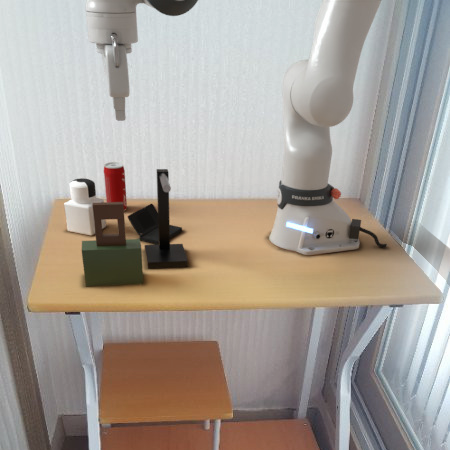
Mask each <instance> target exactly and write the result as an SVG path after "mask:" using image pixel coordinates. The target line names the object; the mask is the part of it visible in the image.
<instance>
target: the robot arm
mask: <svg viewBox="0 0 450 450" xmlns="http://www.w3.org/2000/svg"><path fill="white" fill-rule="evenodd" d="M198 1H199V0H86V2H85V16H86V17H85V18H86V26H87V35H88V42H89V43H91V44H95V46H96V52H97V53H98V54H100V55H101V60H102V65H103V70H104V75H105V80H106V85H107V90H108V95H109V96H110V98H112V105H113V109H114V115H115V120H116V121H118V122H119V121H120V122H123V121H125V120H126V98H128V97H129V96H130V92H131V91H130V90H131V89H130V75H129V64H128V63H129V62H128V55H129V54H131V53H132V52H133V51H132V50H133V49H132V44H136V43H138V42H139V36H138V20H137V19H138V18H137V17H138V16H137V5H139V4H144V5H145V6H148V7H150V8H152V9H155V10H156V11H157V12H159V13H160V14H162V15H165V16H167V17H178V16H182V15H185V14H186V13H188V12H189V11H190V10H192V9H193V8H194V7H195V5H196V4H197V3H198ZM381 3H382V0H322V1H321V4H320V6H319V10H318V12H317V15H316V17H315V21H314V23H313V38H312V43H311V48H310V53H309V57H308V59H302V60H298V61H296V62H294V63H292V64H291V65H290V66H289V67H287V69H286V70H285V71H284V73H283V76H282V78H281V84H280V88H281V89H280V90H281V95H282V125H283V156H282V168H281V179H280V180H279V182H278V189H277V195H276V205H277V209H276V214H275V218H274V222H273V226H272V229H271V230H270V231H271V232H270V234H269V237H268V239H269V241H270V242H271V244H273V245H275V246H276V247H278V248H281V249H284V250H288V251H292V252H296V253H299V254H301V255H304V256H313V255H321V254H322V255H323V254H329V253H337V252H345V251H354V250H358V249H359V248H360V242H361V241H360V239H359V236H360V232H362V233H364V234H367V235H368V236H370V237H372V238H373V241H374V242H375V245H376V246H377V247H379V248H387V247H388V246H387V245H388V244H387V243H381V242H380V241H379V237H378V236H377V235H376V234H375V233H374V232H373V231H371V230H369V229H367V228H364V227H361V225H362V219H357V218H352V219H351V217H350V216H349V214H348V213H347V212H346V211H345V210H344V209H343V208H342V207H341V206H340V205H339V204H338V203H337V202H336V201H334V200H338V199H340V198H341V196H342V191H340V190H339V188H335V187H334V186H333V185H332V184H330V183H329V177H330V170H331V164H332V156H333V145H332V140H331V131H330V130H331V128H332V127H336V126H338V125H340V124H341V123H343V122H344V120H346V118H347V117H348V116H349V115H350V112H351V111H352V108H353V105H354V84H355V81H356V75H357V72H358V66H359V63H360V58H361V54H362V51H363V48H364V45H365V42H366V39H367V36H368V34H369V31H370V30H371V27H372V25H373V22H374V19H375V17H376V15H377V12H378V10H379V8H380V5H381Z"/></svg>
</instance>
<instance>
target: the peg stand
mask: <svg viewBox="0 0 450 450" xmlns="http://www.w3.org/2000/svg"><path fill="white" fill-rule="evenodd" d="M171 188H172V187H171V185H170V181H169V170H168V168H157V169H156V194H157V195H156V197H157V199H156V200H157V212H158V232H159V245H158V244H144V254H145V260H146V265H147V269H148V270H149V269H150V270H152V269H174V268H188V267H189V261H188V258H187V254H186V250H185V247H184V244H183V243H171V238H170V226H169V225H170V192H171Z"/></svg>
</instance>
